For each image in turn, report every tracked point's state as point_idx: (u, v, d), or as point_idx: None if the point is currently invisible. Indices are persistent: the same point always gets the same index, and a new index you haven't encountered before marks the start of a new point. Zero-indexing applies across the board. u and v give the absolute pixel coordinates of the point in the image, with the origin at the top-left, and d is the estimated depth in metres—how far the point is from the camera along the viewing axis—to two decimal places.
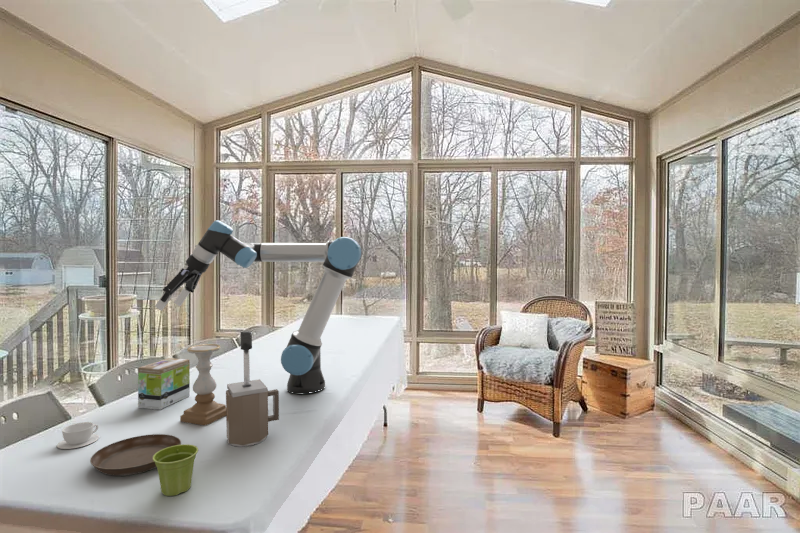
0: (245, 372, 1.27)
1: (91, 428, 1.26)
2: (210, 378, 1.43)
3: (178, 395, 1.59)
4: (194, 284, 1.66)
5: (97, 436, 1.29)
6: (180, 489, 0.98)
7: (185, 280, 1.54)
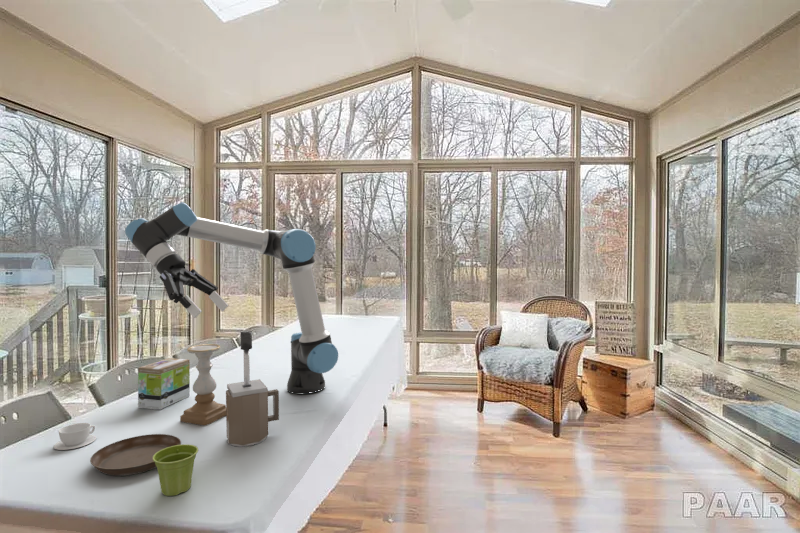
0: (245, 372, 1.27)
1: (88, 429, 1.26)
2: (210, 378, 1.43)
3: (178, 395, 1.59)
4: (209, 284, 1.37)
5: (94, 437, 1.28)
6: (180, 489, 0.98)
7: (178, 279, 1.26)
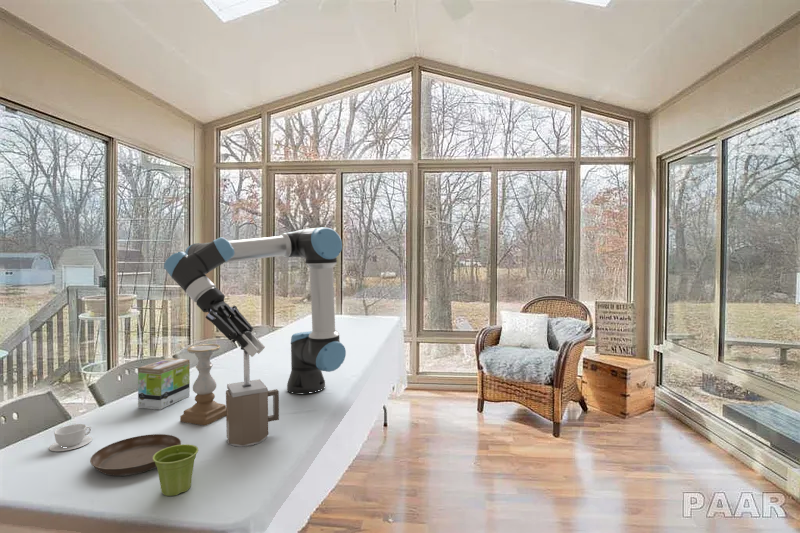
0: (245, 372, 1.27)
1: (84, 430, 1.25)
2: (210, 378, 1.43)
3: (178, 395, 1.59)
4: (244, 322, 1.32)
5: (90, 438, 1.27)
6: (180, 489, 0.98)
7: (225, 316, 1.25)
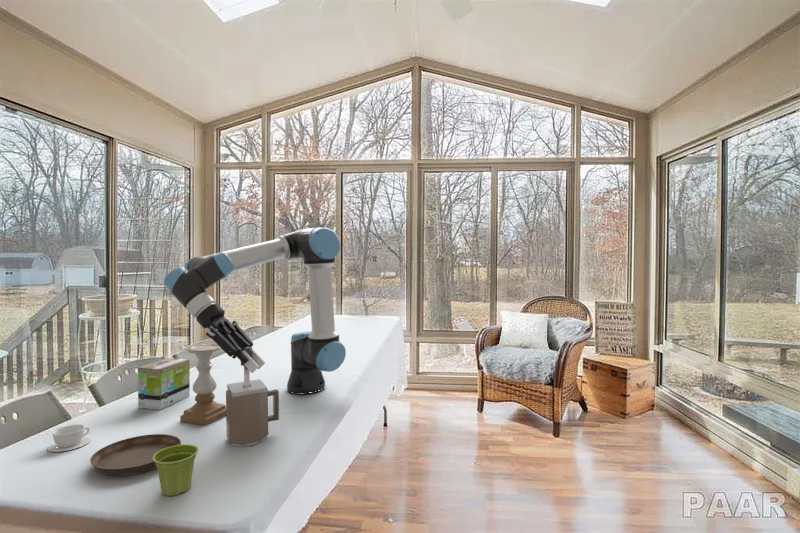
0: None
1: (82, 430, 1.24)
2: (210, 378, 1.43)
3: (178, 395, 1.59)
4: (244, 338, 1.32)
5: (88, 439, 1.27)
6: (180, 489, 0.98)
7: (225, 333, 1.25)
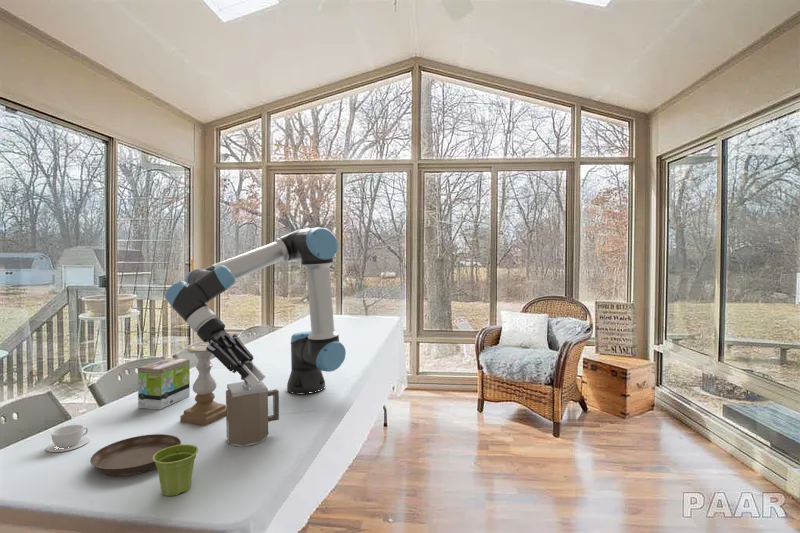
0: None
1: (81, 431, 1.24)
2: (210, 378, 1.43)
3: (178, 395, 1.59)
4: (245, 351, 1.32)
5: (87, 439, 1.27)
6: (180, 489, 0.98)
7: (226, 347, 1.26)
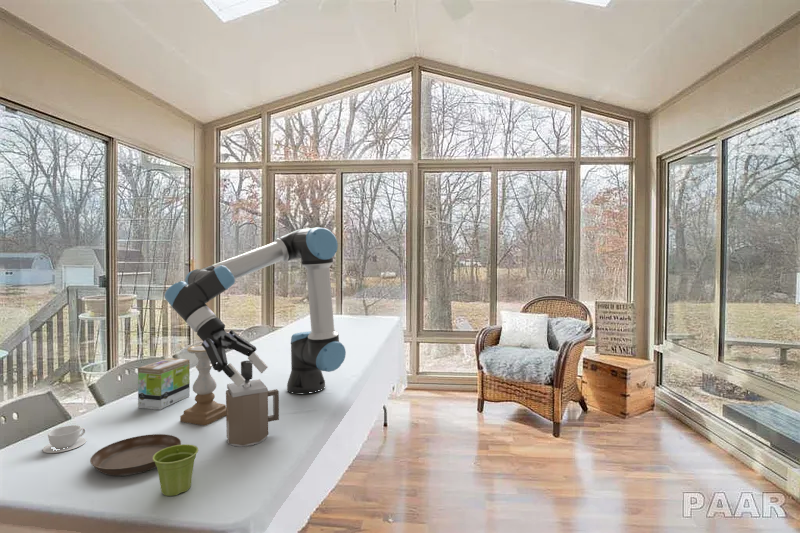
0: None
1: (78, 431, 1.24)
2: (210, 378, 1.43)
3: (178, 395, 1.59)
4: (247, 345, 1.36)
5: (84, 439, 1.27)
6: (180, 489, 0.98)
7: (220, 345, 1.24)
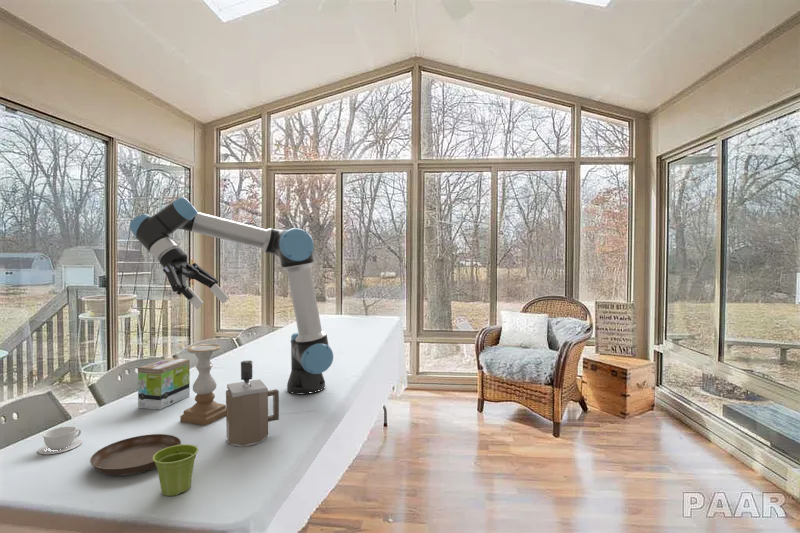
0: None
1: (74, 432, 1.23)
2: (210, 378, 1.43)
3: (178, 395, 1.59)
4: (210, 277, 1.43)
5: (80, 441, 1.26)
6: (180, 489, 0.98)
7: (181, 272, 1.32)
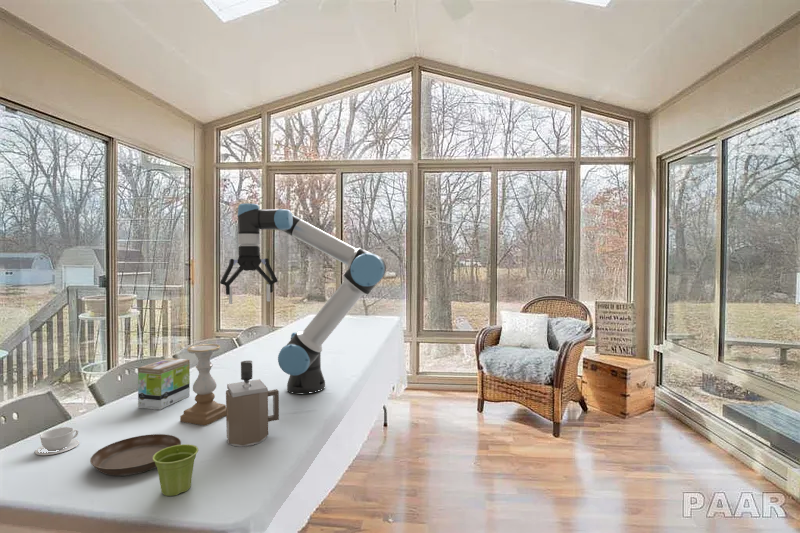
0: None
1: (71, 433, 1.23)
2: (210, 378, 1.43)
3: (178, 395, 1.59)
4: (271, 276, 1.63)
5: (77, 441, 1.25)
6: (180, 489, 0.98)
7: (239, 269, 1.57)
